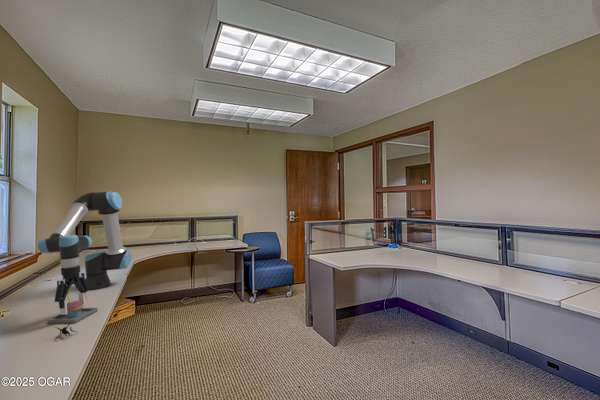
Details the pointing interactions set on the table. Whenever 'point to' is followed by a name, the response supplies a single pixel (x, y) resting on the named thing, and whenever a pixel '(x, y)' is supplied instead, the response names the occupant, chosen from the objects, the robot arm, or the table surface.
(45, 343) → the table surface
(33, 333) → the table surface
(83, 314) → the tray
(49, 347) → the table surface
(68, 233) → the robot arm
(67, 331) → the creature
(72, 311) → the cupcake
